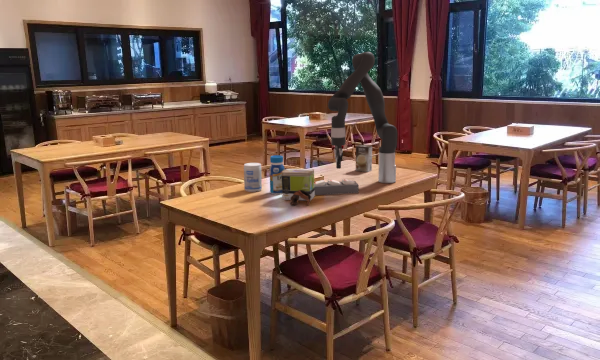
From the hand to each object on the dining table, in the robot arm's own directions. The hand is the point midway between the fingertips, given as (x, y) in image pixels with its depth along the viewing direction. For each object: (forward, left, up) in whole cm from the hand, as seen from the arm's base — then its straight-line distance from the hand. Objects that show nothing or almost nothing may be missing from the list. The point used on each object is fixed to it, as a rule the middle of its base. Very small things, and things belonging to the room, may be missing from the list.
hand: (338, 168), depth 267 cm
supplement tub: (+46, -12, -13) cm, 49 cm away
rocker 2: (+3, 0, -8) cm, 9 cm away
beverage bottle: (+33, -4, -13) cm, 35 cm away
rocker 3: (-5, 0, -8) cm, 10 cm away
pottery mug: (+24, +21, -13) cm, 34 cm away
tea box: (+23, +9, -13) cm, 28 cm away
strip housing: (+3, 0, -13) cm, 13 cm away
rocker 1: (+10, 0, -8) cm, 13 cm away
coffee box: (-25, -50, -13) cm, 58 cm away
